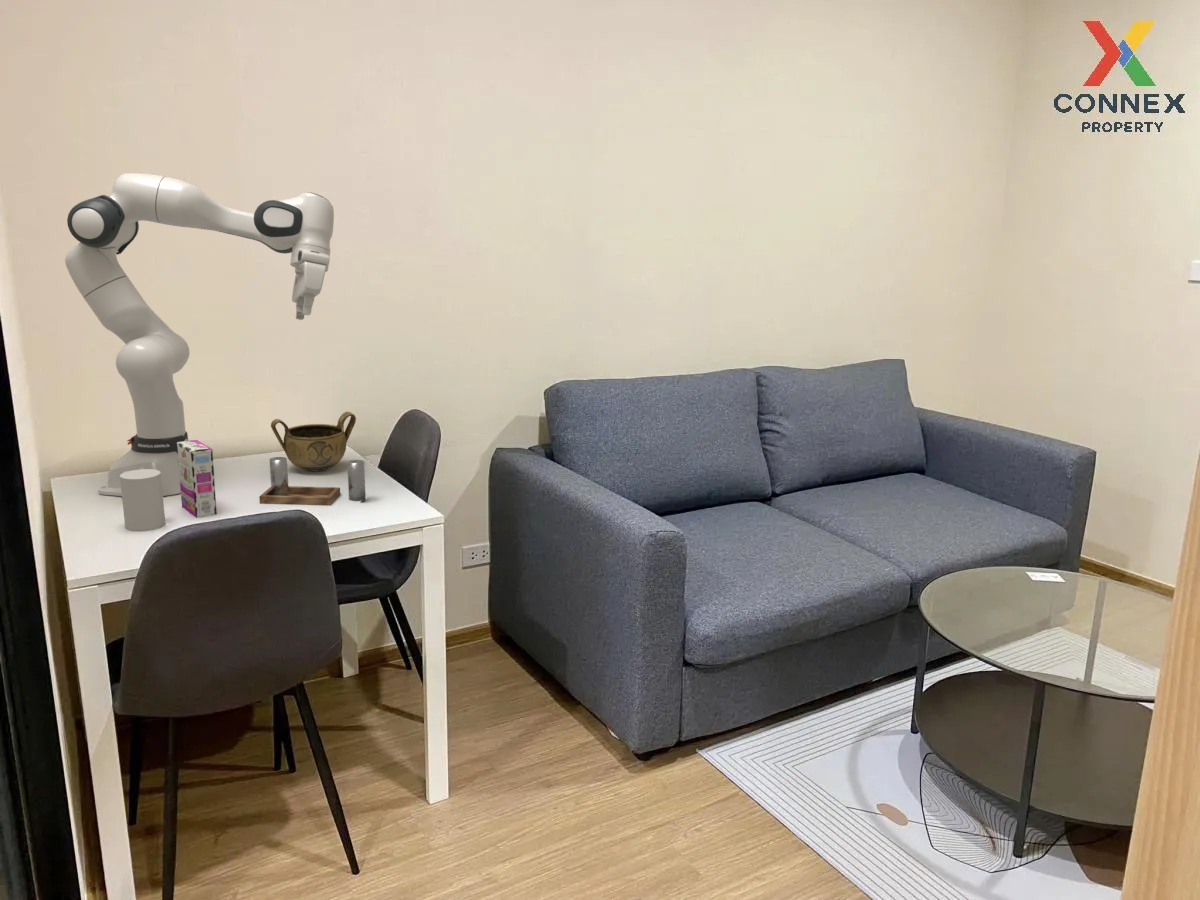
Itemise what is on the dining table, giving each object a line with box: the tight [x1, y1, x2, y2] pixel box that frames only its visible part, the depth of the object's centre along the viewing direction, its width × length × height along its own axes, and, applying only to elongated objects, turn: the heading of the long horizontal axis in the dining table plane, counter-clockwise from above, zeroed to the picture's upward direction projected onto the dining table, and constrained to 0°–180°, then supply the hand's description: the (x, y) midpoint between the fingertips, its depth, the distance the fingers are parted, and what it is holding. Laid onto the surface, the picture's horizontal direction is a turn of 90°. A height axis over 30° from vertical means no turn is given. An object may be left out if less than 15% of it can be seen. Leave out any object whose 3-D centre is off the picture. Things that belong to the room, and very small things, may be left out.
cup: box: [120, 469, 166, 532], centre depth 208 cm, size 8×8×12 cm
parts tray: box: [258, 485, 341, 507], centre depth 229 cm, size 17×9×2 cm, turn 90°
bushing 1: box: [269, 456, 289, 496], centre depth 228 cm, size 4×4×10 cm
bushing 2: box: [347, 459, 367, 504], centre depth 230 cm, size 4×4×10 cm
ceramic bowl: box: [270, 411, 357, 472], centre depth 256 cm, size 22×17×15 cm
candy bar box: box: [177, 439, 218, 519], centre depth 217 cm, size 11×5×16 cm, turn 40°
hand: (303, 317), depth 226 cm, fingers open, 8 cm apart
